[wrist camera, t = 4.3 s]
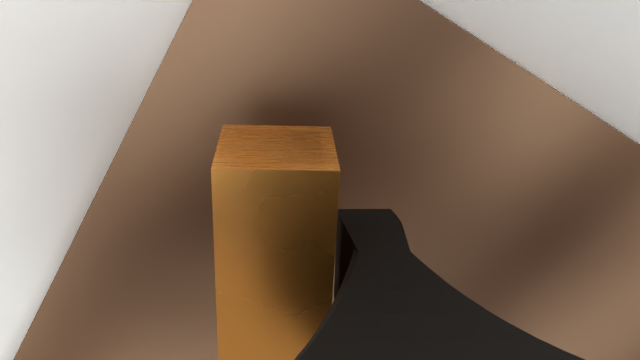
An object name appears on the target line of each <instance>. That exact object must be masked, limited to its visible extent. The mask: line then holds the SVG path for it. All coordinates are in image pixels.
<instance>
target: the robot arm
mask: <svg viewBox="0 0 640 360" xmlns="http://www.w3.org/2000/svg"><path fill="white" fill-rule="evenodd" d="M294 360H585V359H583V358H580V357H578V356H576V355H573V354H571V353H569V352H566V351H564V350H562V349H559V348H557V347H555V346H553V345H551V344H549V343H547V342H545V341H543V340H540V339H538V338H536V337H534V336H533V335H531V334H529V333H527V332H525V331H523V330H521V329H519V328H518V327H516V326H514V325H512V324H510V323H508V322H506V321H505V320H503V319H501V318H500V317H498V316H496V315H494V314H493V313H491V312H489V311H488V310H486V309H485V308H483V307H482V306H480V305H479V304H477V303H476V302H474V301H473V300H471V299H470V298H468V297H467V296H465V295H464V294H462V293H461V292H459V291H458V290H457V289H455V288H454V287H452V286H451V285H450V284H448V283H447V282H446V281H445V280H443V279H442V278H441V277H440V276H438V275H437V274H436V273H435V272H434V271H432V270H431V269H430V268H429V267H427V266H426V265H425V264H424V263H423V262H422V261H421V260H419V259H418V258H417V257H416V256H415V255H414V254H413V253H412V252H411V251H410V248H409V245H408V241H407V238H406V235H405V232H404V228H403V225H402V222H401V221H400V219H399V218H398V217H397V215H396V214H395V213H394V212H393V211H392V210H391V209H338V218H337V233H336V255H335V278H334V302H333V304H332V305H331V307H330V309H329V311H328V313H327V315H326V316H325V318H324V319H323V321H322V322H321V324H320V326H319V327H318V329H317V330H316V332H315V333H314V335H313V336H312V338H311V339H310V341H309V342H308V343H307V345H306V346H305V347H304V348H303V350H302V351H301V352H300V353H299V354H298V355H297V357H296V358H295V359H294Z"/></svg>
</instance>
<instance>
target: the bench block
mask: <svg viewBox="0 0 640 360" xmlns="http://www.w3.org/2000/svg"><path fill="white" fill-rule="evenodd" d="M223 125H270V126H316V127H331V130H332V135H333V139H334V144H335V148H336V153H337V157H338V162H339V166H340V171H341V172H340V187H339V203H338V209H391V210H392V211H393V212H394V213H395V214H396V215H397V217H398V218H399V219H400V221H401V222H402V225H403V228H404V232H405V235H406V238H407V241H408V245H409V248H410V251H411V252H412V253H413V254H414V255H415V256H416V257H417V258H418V259H419V260H421V261H422V262H423V263H424V264H425V265H426V266H427V267H429V268H430V269H431V270H432V271H434V272H435V273H436V274H437V275H438V276H440V277H441V278H442V279H443V280H445V281H446V282H447V283H448V284H450V285H451V286H452V287H454V288H455V289H457V290H458V291H459V292H461V293H462V294H464V295H465V296H467V297H468V298H470V299H471V300H473V301H474V302H476V303H477V304H479V305H480V306H482V307H483V308H485V309H486V310H488V311H489V312H491V313H493V314H494V315H496V316H498V317H500V318H501V319H503V320H505V321H506V322H508V323H510V324H512V325H514V326H516V327H518V328H519V329H521V330H523V331H525V332H527V333H529V334H531V335H533V336H534V337H536V338H538V339H540V340H543V341H545V342H547V343H549V344H551V345H553V346H555V347H557V348H559V349H562V350H564V351H566V352H569V353H571V354H573V355H576V356H578V357H580V358H583V359H585V360H640V145H639V144H638V143H636V142H635V141H633V140H632V139H630V138H629V137H627V136H626V135H624V134H623V133H621V132H620V131H618V130H617V129H615V128H614V127H612V126H610V125H609V124H607V123H606V122H604V121H603V120H601V119H600V118H598V117H597V116H595V115H594V114H592V113H591V112H589V111H588V110H586V109H585V108H583V107H581V106H580V105H578V104H577V103H575V102H574V101H572V100H571V99H569V98H568V97H566V96H565V95H563V94H562V93H560V92H559V91H557V90H555V89H554V88H552V87H551V86H549V85H548V84H546V83H545V82H543V81H542V80H540V79H539V78H537V77H536V76H534V75H533V74H531V73H530V72H528V71H526V70H525V69H523V68H522V67H520V66H519V65H517V64H516V63H514V62H513V61H511V60H510V59H508V58H507V57H505V56H504V55H502V54H501V53H499V52H497V51H496V50H494V49H493V48H491V47H490V46H488V45H487V44H485V43H484V42H482V41H481V40H479V39H478V38H476V37H475V36H473V35H471V34H470V33H468V32H467V31H465V30H464V29H462V28H461V27H459V26H458V25H456V24H455V23H453V22H452V21H450V20H449V19H447V18H446V17H444V16H442V15H441V14H439V13H438V12H436V11H435V10H433V9H432V8H430V7H429V6H427V5H426V4H424V3H423V2H421V1H420V0H193V1H192V3H191V5H190V7H189V9H188V11H187V13H186V15H185V17H184V19H183V21H182V23H181V25H180V27H179V29H178V31H177V33H176V35H175V37H174V39H173V41H172V43H171V45H170V47H169V49H168V51H167V53H166V55H165V57H164V59H163V61H162V63H161V65H160V67H159V69H158V71H157V73H156V75H155V77H154V79H153V81H152V83H151V85H150V87H149V89H148V91H147V93H146V95H145V97H144V99H143V101H142V103H141V105H140V107H139V109H138V111H137V113H136V115H135V117H134V119H133V121H132V123H131V125H130V127H129V129H128V131H127V133H126V135H125V137H124V139H123V141H122V143H121V145H120V147H119V149H118V151H117V153H116V155H115V157H114V159H113V161H112V163H111V165H110V167H109V169H108V171H107V173H106V175H105V177H104V179H103V181H102V183H101V185H100V187H99V189H98V191H97V193H96V195H95V197H94V199H93V201H92V203H91V205H90V207H89V209H88V211H87V213H86V215H85V217H84V219H83V221H82V223H81V225H80V227H79V230H78V232H77V234H76V236H75V238H74V240H73V242H72V244H71V246H70V248H69V250H68V252H67V254H66V256H65V258H64V260H63V262H62V264H61V266H60V268H59V270H58V272H57V274H56V276H55V278H54V280H53V282H52V284H51V286H50V288H49V290H48V292H47V294H46V296H45V298H44V300H43V302H42V304H41V306H40V308H39V310H38V312H37V314H36V316H35V318H34V320H33V322H32V324H31V326H30V328H29V330H28V332H27V334H26V336H25V338H24V340H23V342H22V344H21V346H20V348H19V350H18V352H17V354H16V356H15V358H14V360H218V339H217V313H216V287H215V262H214V236H213V210H212V184H211V167H212V163H213V159H214V156H215V152H216V148H217V144H218V141H219V137H220V133H221V129H222V126H223ZM335 255H336V249H335ZM334 278H335V264H334ZM333 302H334V279H333V295H332V304H333Z"/></svg>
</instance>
